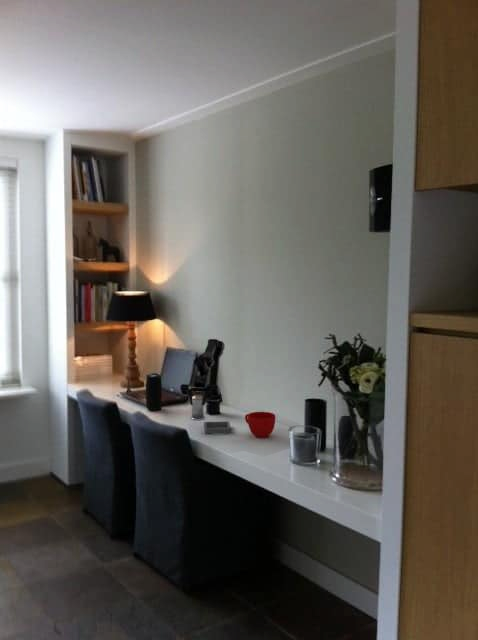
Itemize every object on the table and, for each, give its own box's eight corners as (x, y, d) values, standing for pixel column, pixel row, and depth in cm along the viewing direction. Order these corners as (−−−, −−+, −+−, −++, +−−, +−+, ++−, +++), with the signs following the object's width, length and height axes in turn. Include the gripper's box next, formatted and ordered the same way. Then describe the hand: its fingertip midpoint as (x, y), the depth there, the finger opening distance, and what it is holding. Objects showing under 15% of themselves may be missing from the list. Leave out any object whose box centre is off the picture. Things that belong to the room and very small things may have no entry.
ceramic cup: (255, 428, 300) (255, 408, 299) (281, 436, 288) (281, 415, 287) (236, 434, 291) (236, 413, 290) (262, 441, 279) (262, 420, 278)
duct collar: (203, 426, 303) (203, 421, 303) (228, 426, 304) (228, 421, 304) (205, 434, 291) (205, 428, 290) (231, 433, 292) (231, 428, 292)
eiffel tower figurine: (115, 396, 374) (114, 374, 372) (131, 394, 379) (130, 372, 378) (124, 400, 361) (124, 378, 360) (140, 398, 366) (140, 376, 365)
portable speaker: (144, 411, 334) (143, 375, 332) (148, 407, 343) (148, 372, 341) (159, 411, 333) (159, 376, 331) (163, 407, 342) (163, 373, 340)
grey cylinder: (200, 415, 301) (200, 393, 300) (207, 419, 296) (207, 396, 294) (187, 418, 297) (187, 395, 296) (195, 421, 292) (195, 398, 291)
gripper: (180, 367, 300) (174, 395, 290) (218, 369, 296) (213, 396, 287) (185, 380, 308) (179, 407, 298) (221, 381, 305) (217, 409, 295)
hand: (197, 404), depth 294 cm, fingers closed on grey cylinder, 5 cm apart
